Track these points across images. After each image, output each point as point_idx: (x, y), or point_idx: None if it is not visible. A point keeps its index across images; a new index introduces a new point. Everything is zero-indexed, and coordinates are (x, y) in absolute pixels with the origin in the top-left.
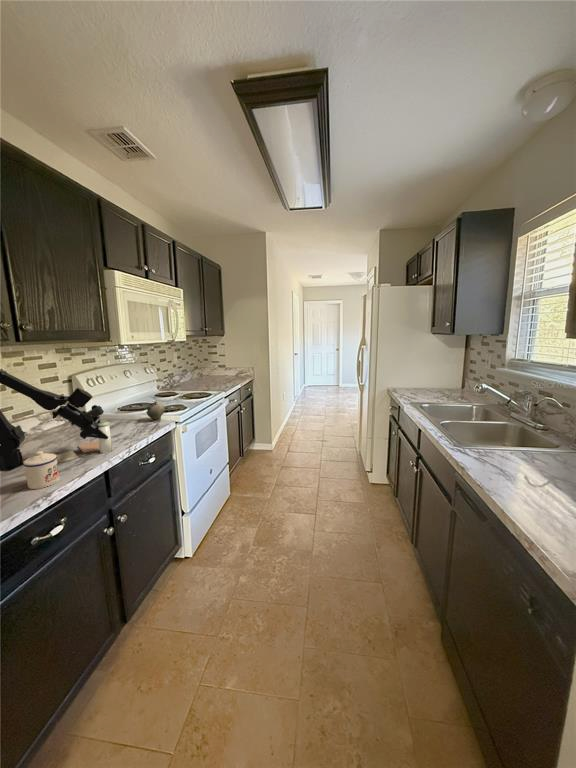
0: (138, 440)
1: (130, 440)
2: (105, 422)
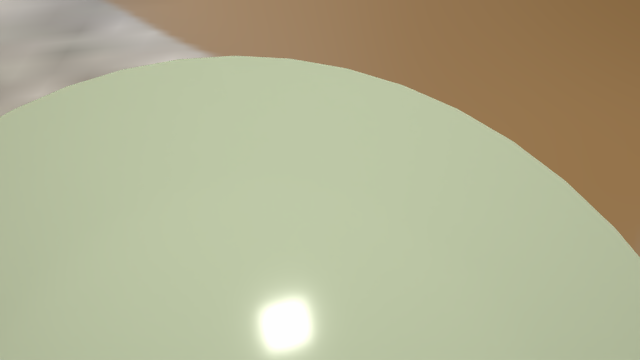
0: (94, 12)
1: (40, 97)
2: (108, 332)
